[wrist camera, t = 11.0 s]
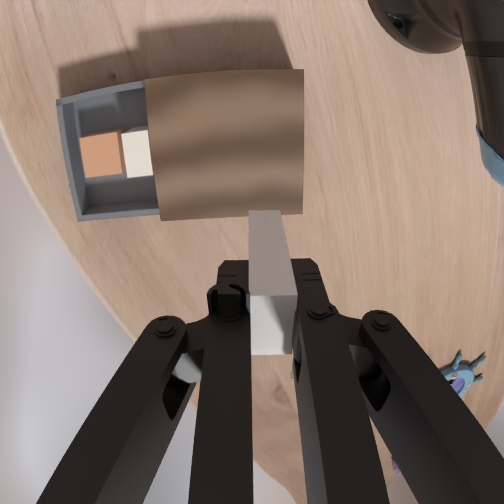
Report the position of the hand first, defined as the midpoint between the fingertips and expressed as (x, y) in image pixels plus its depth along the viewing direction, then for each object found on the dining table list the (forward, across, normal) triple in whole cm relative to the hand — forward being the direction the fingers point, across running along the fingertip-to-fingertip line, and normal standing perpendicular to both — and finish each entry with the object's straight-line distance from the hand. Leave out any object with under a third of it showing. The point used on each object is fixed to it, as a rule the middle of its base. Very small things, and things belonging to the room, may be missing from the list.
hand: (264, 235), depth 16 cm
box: (+25, -17, 0) cm, 30 cm away
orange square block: (+21, -18, 0) cm, 27 cm away
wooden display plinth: (+25, -3, 0) cm, 25 cm away
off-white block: (+21, -11, 0) cm, 24 cm away
